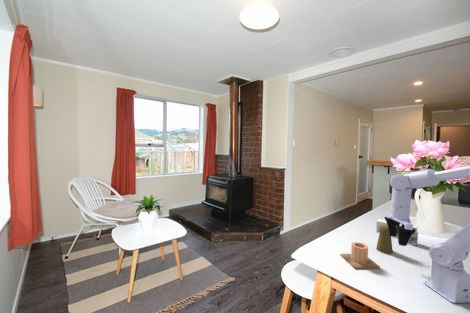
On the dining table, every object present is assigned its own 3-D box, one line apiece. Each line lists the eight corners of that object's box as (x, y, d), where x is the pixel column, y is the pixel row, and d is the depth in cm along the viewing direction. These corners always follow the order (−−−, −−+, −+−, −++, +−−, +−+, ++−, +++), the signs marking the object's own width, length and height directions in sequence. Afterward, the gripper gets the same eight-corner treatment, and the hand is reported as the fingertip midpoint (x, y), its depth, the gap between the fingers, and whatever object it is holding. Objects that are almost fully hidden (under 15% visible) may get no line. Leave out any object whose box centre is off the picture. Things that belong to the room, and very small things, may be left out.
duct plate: (380, 268, 81) (380, 257, 81) (354, 269, 81) (355, 258, 80) (362, 254, 91) (363, 245, 91) (340, 255, 91) (340, 245, 90)
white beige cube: (376, 232, 115) (376, 221, 115) (378, 229, 119) (379, 218, 119) (389, 235, 111) (390, 224, 110) (392, 232, 115) (392, 221, 115)
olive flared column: (395, 254, 92) (397, 229, 91) (379, 253, 93) (381, 228, 92) (388, 247, 97) (389, 224, 97) (373, 246, 99) (374, 223, 98)
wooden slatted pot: (368, 259, 86) (369, 245, 86) (365, 265, 82) (366, 250, 82) (353, 254, 90) (353, 240, 90) (349, 260, 86) (350, 245, 85)
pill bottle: (404, 239, 106) (405, 223, 105) (417, 242, 103) (418, 225, 102) (404, 243, 102) (405, 226, 101) (417, 246, 99) (418, 228, 98)
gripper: (380, 199, 89) (377, 231, 90) (397, 210, 74) (394, 248, 76) (400, 200, 87) (397, 233, 88) (421, 212, 73) (417, 251, 74)
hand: (397, 240), depth 82 cm, fingers open, 7 cm apart
